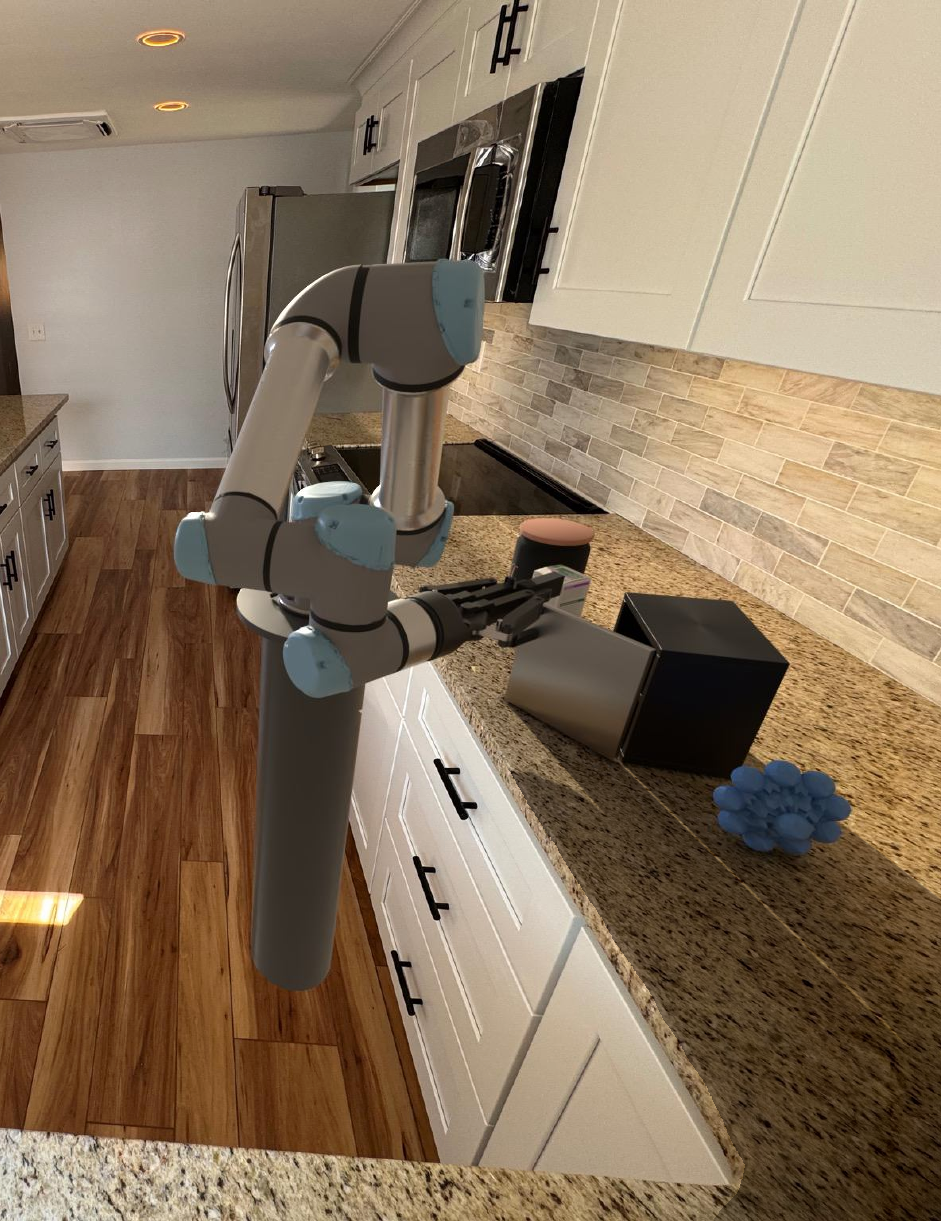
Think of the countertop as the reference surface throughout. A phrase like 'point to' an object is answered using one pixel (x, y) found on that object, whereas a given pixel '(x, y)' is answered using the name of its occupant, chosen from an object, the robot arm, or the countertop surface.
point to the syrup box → (568, 589)
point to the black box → (698, 683)
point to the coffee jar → (550, 546)
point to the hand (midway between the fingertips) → (556, 583)
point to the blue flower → (781, 807)
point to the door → (578, 678)
